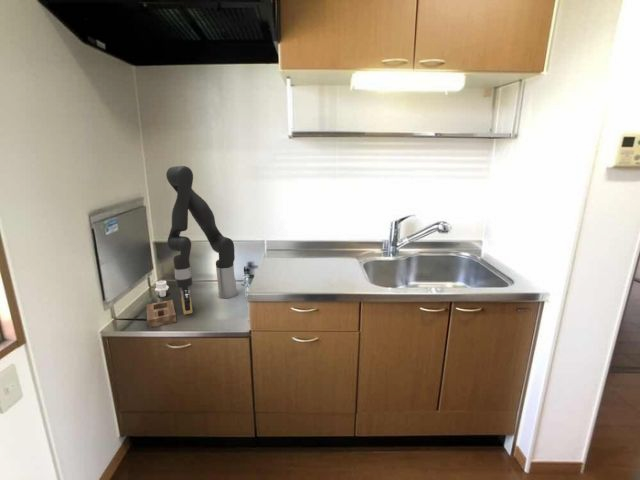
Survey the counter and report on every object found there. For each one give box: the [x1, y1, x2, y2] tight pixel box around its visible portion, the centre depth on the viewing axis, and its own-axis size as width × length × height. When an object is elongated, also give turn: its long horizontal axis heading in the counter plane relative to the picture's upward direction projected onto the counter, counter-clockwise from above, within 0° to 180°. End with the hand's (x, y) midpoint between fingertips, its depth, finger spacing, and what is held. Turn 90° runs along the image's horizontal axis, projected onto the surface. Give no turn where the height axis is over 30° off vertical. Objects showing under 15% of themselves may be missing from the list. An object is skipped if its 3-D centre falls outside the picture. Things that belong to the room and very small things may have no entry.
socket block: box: [146, 299, 177, 329], centre depth 169 cm, size 12×18×4 cm, turn 26°
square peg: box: [180, 296, 194, 315], centre depth 173 cm, size 4×4×8 cm
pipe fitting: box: [154, 280, 170, 298], centre depth 192 cm, size 6×7×8 cm
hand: (187, 308), depth 174 cm, fingers closed on square peg, 4 cm apart
